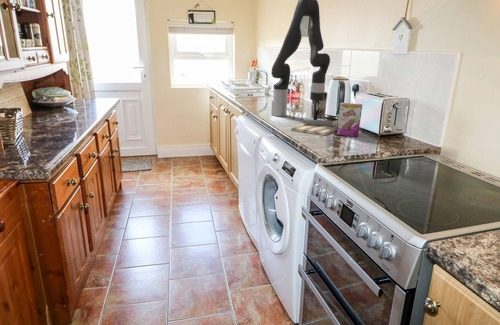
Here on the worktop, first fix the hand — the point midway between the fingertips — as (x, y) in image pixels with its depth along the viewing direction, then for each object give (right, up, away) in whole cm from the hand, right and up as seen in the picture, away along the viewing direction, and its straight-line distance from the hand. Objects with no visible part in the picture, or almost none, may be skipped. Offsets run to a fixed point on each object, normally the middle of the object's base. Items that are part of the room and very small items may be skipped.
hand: (315, 121), depth 196 cm
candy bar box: (+14, -9, -17) cm, 24 cm away
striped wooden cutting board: (0, -4, -4) cm, 6 cm away
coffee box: (+7, +7, +30) cm, 32 cm away
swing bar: (+2, -2, -3) cm, 4 cm away
